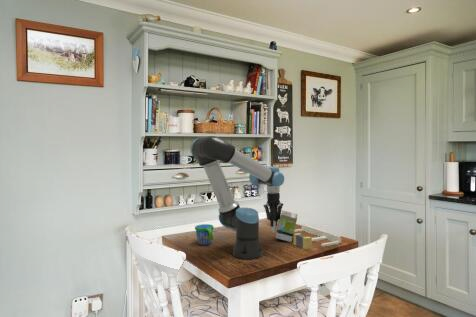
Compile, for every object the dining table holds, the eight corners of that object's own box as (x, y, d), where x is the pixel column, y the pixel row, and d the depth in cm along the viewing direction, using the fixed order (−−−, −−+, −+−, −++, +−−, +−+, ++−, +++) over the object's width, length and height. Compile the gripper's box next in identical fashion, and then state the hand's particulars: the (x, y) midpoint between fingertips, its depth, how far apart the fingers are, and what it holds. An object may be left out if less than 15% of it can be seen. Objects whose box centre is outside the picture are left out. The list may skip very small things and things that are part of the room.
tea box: (292, 242, 185) (297, 218, 184) (275, 238, 187) (280, 214, 186) (292, 236, 200) (297, 213, 199) (277, 232, 201) (282, 209, 201)
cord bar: (305, 249, 171) (305, 238, 171) (293, 244, 181) (293, 233, 181) (311, 248, 173) (311, 237, 173) (299, 243, 183) (299, 233, 183)
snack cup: (191, 241, 188) (190, 224, 188) (207, 239, 194) (207, 222, 193) (201, 248, 175) (201, 230, 175) (218, 245, 180) (218, 227, 180)
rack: (323, 246, 176) (323, 239, 176) (286, 232, 208) (286, 226, 208) (341, 243, 182) (341, 236, 182) (303, 230, 214) (303, 224, 214)
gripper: (267, 194, 183) (267, 234, 184) (285, 192, 189) (286, 231, 189) (260, 192, 190) (261, 231, 190) (278, 191, 196) (279, 229, 196)
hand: (273, 231), depth 190 cm, fingers closed
